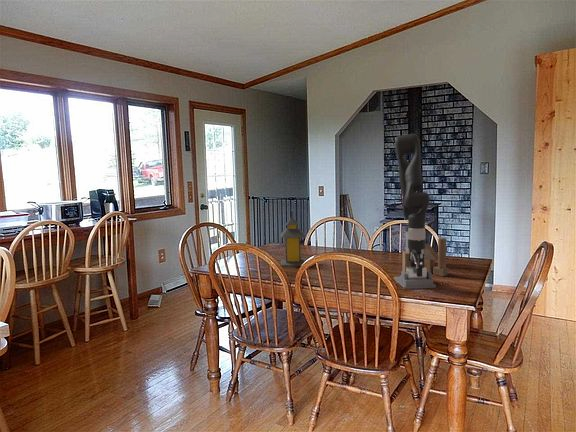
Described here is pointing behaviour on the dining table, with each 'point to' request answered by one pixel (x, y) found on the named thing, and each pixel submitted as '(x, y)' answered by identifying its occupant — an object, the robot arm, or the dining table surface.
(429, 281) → the post footing
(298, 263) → the lantern
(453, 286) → the dining table surface
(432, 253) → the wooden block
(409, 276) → the pale grey block
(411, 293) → the dining table surface
